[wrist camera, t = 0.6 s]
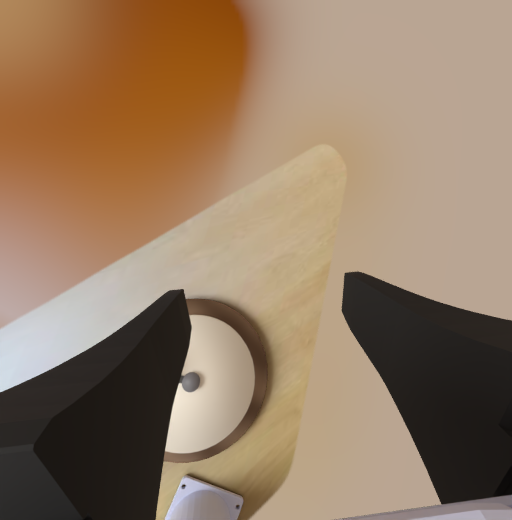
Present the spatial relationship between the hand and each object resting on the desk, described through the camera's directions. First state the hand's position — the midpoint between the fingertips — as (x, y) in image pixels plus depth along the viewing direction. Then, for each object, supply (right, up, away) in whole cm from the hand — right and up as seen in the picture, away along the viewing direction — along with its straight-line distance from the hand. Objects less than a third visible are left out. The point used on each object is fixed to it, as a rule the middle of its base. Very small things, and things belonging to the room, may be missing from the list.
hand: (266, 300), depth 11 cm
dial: (-8, -13, +19) cm, 24 cm away
